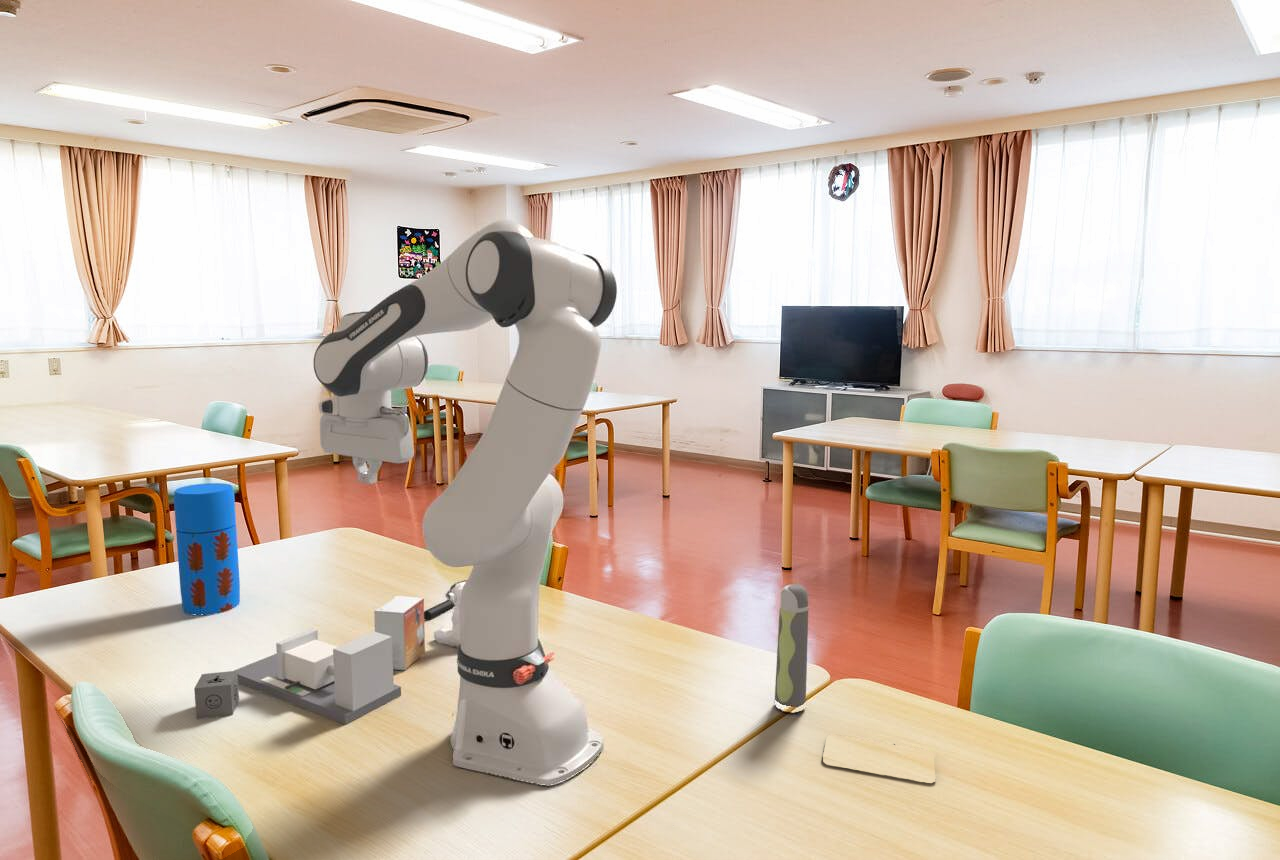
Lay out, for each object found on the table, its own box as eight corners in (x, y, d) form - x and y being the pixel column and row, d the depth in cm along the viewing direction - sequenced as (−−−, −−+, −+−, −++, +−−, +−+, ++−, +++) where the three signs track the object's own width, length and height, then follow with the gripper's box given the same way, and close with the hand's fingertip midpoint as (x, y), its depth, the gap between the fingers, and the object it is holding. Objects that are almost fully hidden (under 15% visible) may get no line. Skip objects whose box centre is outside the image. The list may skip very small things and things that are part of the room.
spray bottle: (786, 697, 133) (791, 579, 130) (811, 707, 129) (817, 586, 127) (768, 707, 130) (772, 586, 127) (793, 718, 126) (798, 594, 123)
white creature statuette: (479, 629, 159) (478, 570, 158) (497, 644, 152) (496, 582, 150) (432, 639, 154) (431, 578, 152) (448, 656, 147) (447, 592, 145)
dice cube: (196, 719, 124) (194, 688, 123) (204, 704, 128) (202, 674, 128) (232, 715, 125) (230, 684, 124) (239, 700, 130) (237, 670, 129)
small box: (405, 671, 141) (403, 613, 139) (375, 668, 142) (373, 610, 140) (426, 652, 148) (424, 597, 147) (397, 650, 149) (396, 594, 148)
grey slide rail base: (231, 680, 136) (227, 620, 135) (289, 656, 146) (286, 600, 144) (345, 724, 122) (342, 658, 121) (401, 695, 132) (399, 633, 130)
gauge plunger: (267, 682, 131) (265, 646, 131) (314, 662, 139) (312, 628, 138) (315, 700, 126) (313, 663, 125) (361, 678, 133) (360, 643, 132)
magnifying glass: (402, 616, 167) (402, 605, 166) (472, 583, 188) (472, 574, 188) (452, 626, 162) (451, 615, 161) (518, 591, 183) (518, 582, 183)
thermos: (251, 603, 171) (244, 487, 168) (201, 619, 162) (192, 496, 159) (221, 593, 177) (214, 480, 173) (171, 608, 168) (162, 489, 164)
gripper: (421, 407, 141) (423, 486, 143) (341, 399, 151) (344, 473, 153) (393, 411, 135) (395, 492, 137) (312, 402, 146) (315, 478, 148)
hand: (367, 482), depth 145 cm, fingers closed
